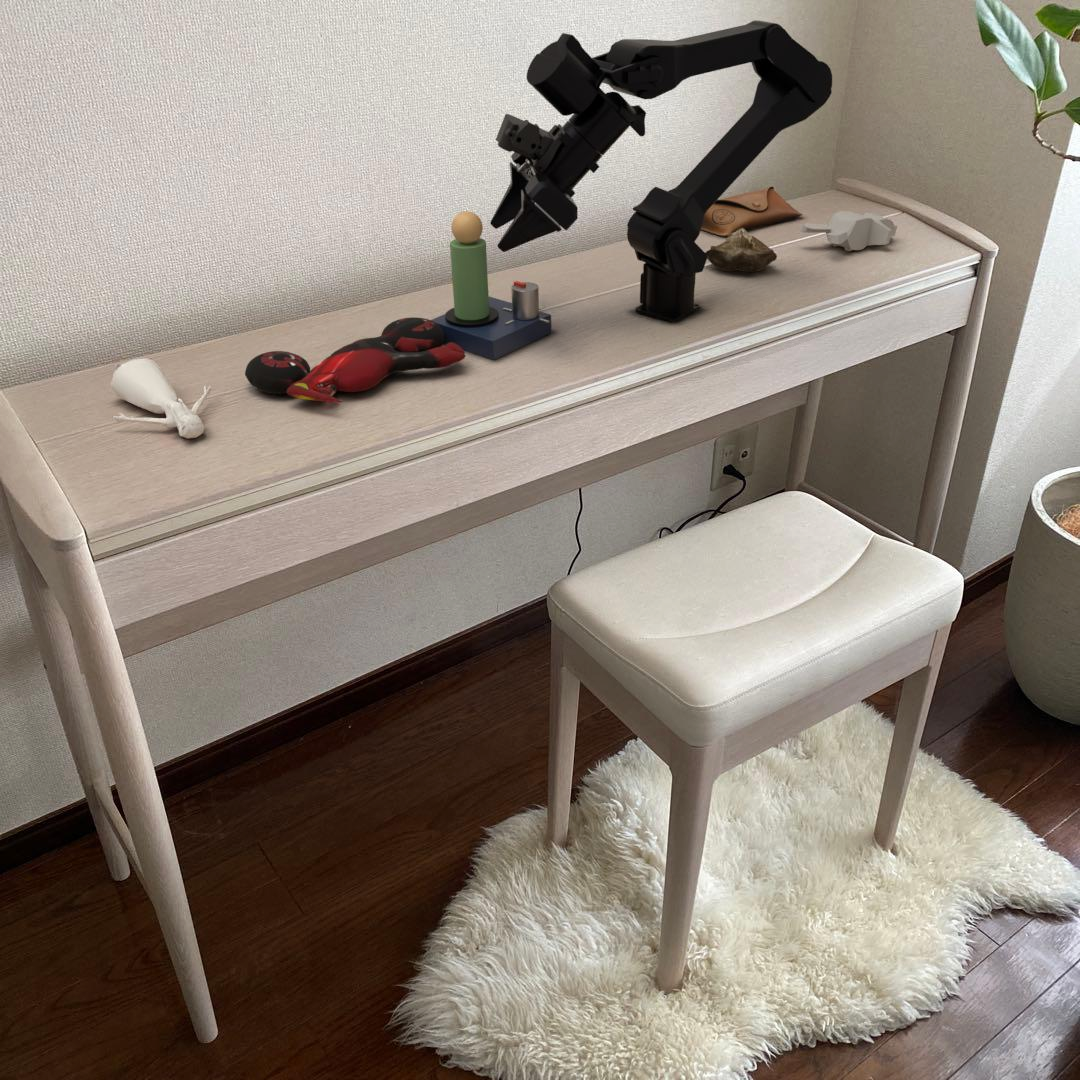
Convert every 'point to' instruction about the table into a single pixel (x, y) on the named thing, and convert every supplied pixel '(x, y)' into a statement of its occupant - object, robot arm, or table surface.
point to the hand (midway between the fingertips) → (496, 237)
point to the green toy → (469, 267)
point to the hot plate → (497, 332)
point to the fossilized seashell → (741, 253)
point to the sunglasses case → (747, 212)
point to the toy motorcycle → (355, 362)
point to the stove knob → (525, 300)
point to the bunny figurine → (855, 230)
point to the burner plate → (458, 322)
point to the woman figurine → (155, 397)
